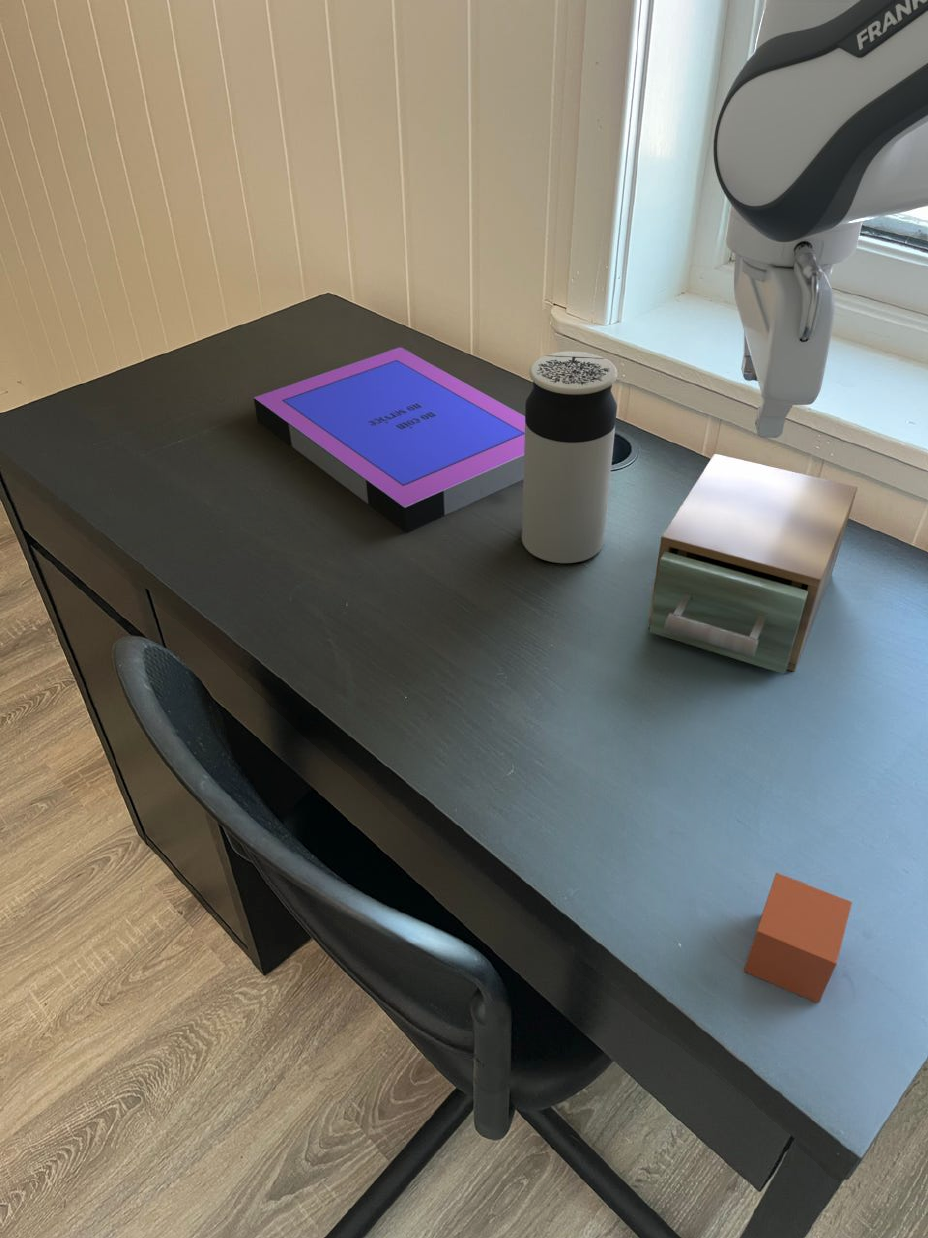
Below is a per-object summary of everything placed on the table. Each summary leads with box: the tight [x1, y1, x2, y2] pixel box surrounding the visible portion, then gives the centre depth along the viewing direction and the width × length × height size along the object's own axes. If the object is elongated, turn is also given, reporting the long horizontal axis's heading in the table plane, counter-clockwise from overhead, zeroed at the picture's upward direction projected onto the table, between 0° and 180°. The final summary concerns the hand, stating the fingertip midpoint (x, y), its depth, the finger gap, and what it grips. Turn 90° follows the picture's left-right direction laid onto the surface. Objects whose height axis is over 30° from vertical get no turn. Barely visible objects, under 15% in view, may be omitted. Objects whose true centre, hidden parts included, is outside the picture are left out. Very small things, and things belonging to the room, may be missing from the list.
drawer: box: [649, 549, 808, 675], centre depth 79 cm, size 18×11×8 cm, turn 152°
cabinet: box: [648, 453, 858, 672], centre depth 82 cm, size 15×13×10 cm
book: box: [253, 346, 525, 534], centre depth 107 cm, size 21×3×30 cm
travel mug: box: [521, 350, 618, 564], centre depth 86 cm, size 8×8×18 cm
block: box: [743, 872, 853, 1004], centre depth 57 cm, size 4×4×4 cm
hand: (759, 403), depth 74 cm, fingers open, 8 cm apart
